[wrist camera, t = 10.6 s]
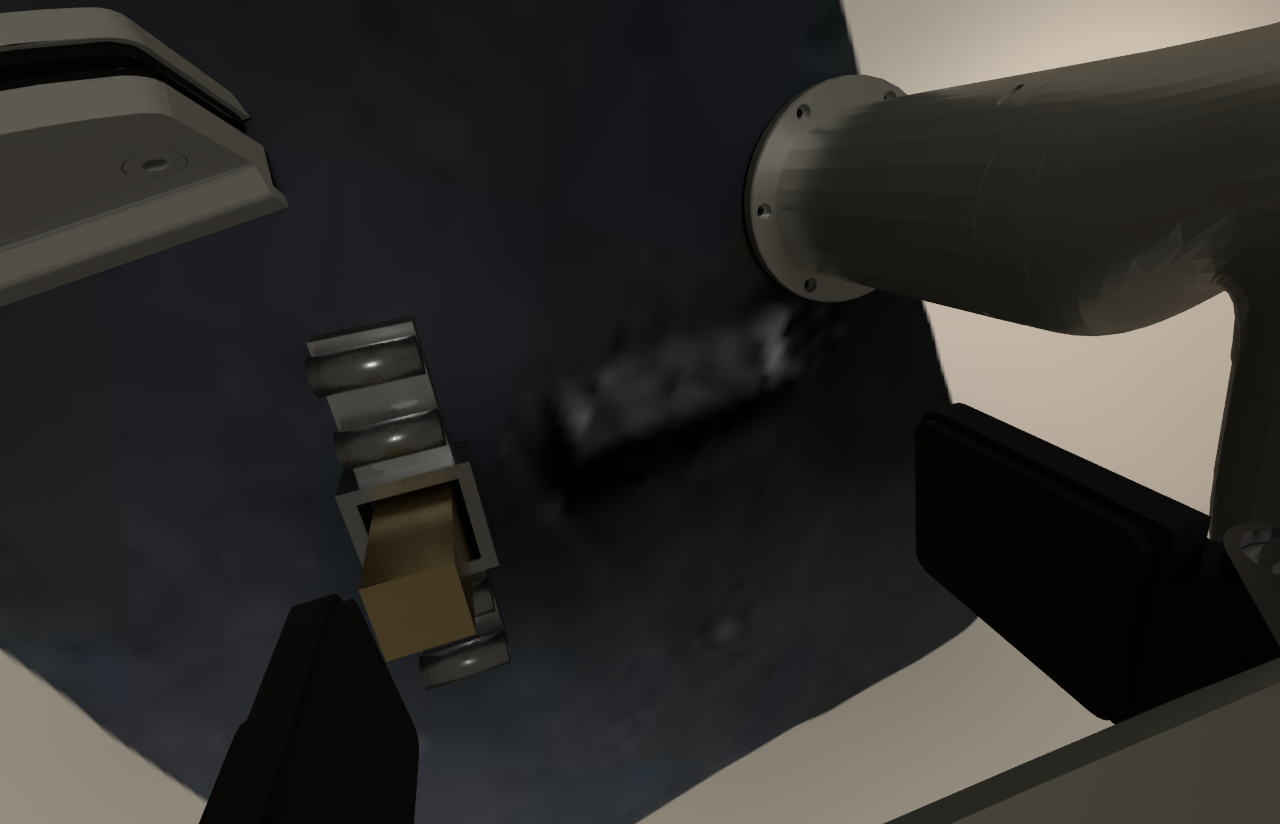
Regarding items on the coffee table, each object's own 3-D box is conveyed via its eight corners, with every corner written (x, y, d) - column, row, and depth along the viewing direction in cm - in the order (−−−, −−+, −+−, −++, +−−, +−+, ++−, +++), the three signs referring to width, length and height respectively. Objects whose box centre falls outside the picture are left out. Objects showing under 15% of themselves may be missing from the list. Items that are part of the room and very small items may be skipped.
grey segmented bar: (430, 312, 33) (429, 325, 30) (521, 633, 41) (528, 670, 38) (293, 340, 31) (277, 357, 28) (416, 667, 40) (415, 709, 37)
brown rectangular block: (449, 467, 36) (454, 562, 27) (466, 525, 38) (476, 633, 29) (378, 485, 35) (358, 589, 26) (398, 544, 37) (386, 661, 28)
